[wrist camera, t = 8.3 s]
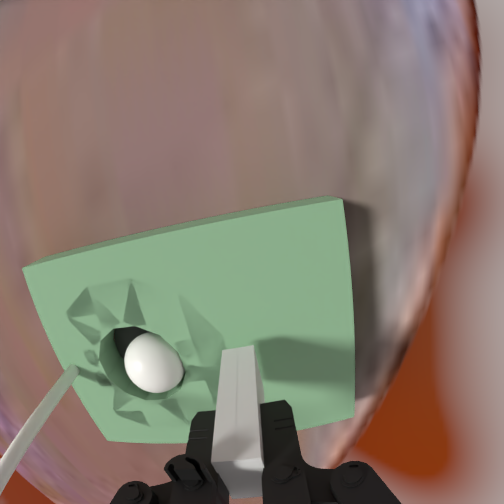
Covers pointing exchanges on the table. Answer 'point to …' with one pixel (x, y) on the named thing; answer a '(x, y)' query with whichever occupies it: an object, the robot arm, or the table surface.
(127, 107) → the table surface
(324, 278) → the green
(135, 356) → the ball
